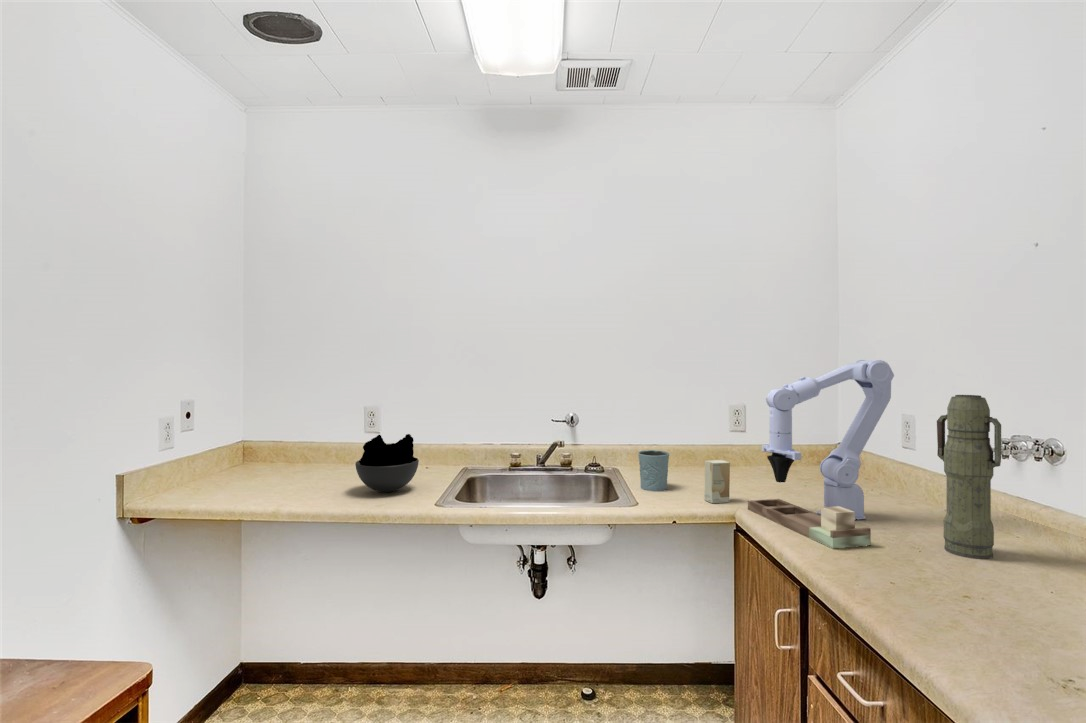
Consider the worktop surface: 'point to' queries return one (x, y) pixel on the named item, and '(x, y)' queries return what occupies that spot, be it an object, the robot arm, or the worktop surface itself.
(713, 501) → the skincare box
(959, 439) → the thermos
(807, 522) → the track
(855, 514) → the robot arm
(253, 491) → the worktop surface
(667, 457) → the teal embossed cup
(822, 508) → the maple block
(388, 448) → the bowl of black rocks
